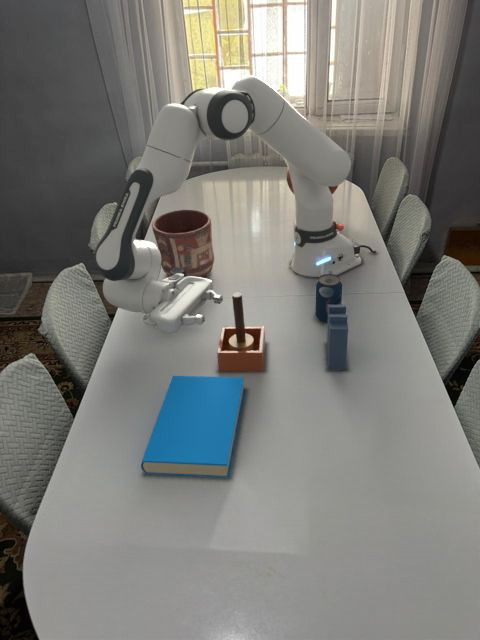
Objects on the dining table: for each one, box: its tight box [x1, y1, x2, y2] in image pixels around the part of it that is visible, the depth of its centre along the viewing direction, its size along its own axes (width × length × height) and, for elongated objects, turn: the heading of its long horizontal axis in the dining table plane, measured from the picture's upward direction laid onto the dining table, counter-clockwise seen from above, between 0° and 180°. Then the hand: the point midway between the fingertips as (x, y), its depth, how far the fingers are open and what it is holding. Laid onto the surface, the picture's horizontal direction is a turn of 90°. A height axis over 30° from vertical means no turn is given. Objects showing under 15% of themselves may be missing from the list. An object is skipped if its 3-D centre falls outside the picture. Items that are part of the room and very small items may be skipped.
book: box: [140, 375, 246, 479], centre depth 107 cm, size 17×4×25 cm
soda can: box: [314, 274, 344, 325], centre depth 135 cm, size 7×7×12 cm
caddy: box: [216, 326, 266, 372], centre depth 125 cm, size 11×11×6 cm
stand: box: [326, 304, 349, 371], centre depth 121 cm, size 4×10×14 cm, turn 177°
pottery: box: [151, 209, 215, 279], centre depth 156 cm, size 18×18×18 cm
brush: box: [229, 291, 254, 351], centre depth 121 cm, size 15×6×15 cm
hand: (212, 309), depth 121 cm, fingers open, 8 cm apart
